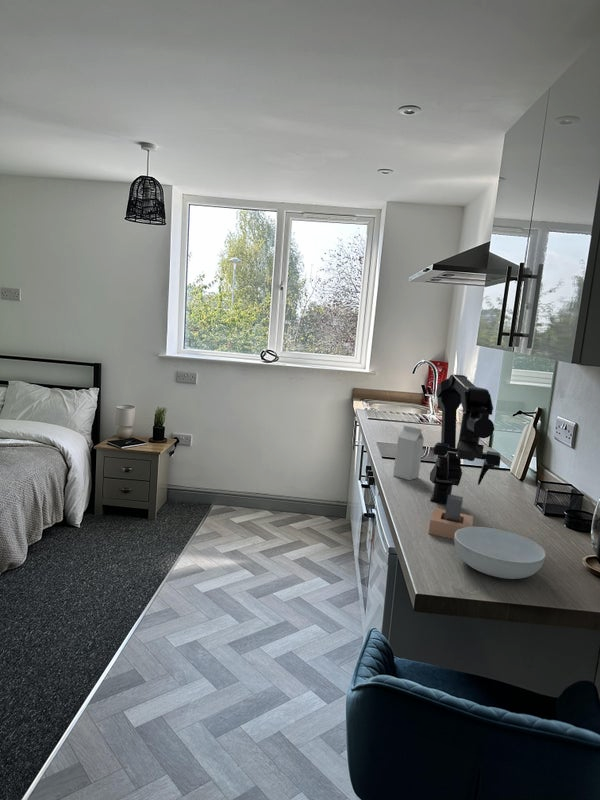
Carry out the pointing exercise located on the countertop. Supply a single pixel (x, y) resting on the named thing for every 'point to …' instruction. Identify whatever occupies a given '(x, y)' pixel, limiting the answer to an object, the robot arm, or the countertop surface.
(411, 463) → the milk carton
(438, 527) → the orange square socket block
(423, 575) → the countertop surface
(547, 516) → the countertop surface
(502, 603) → the countertop surface
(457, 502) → the tall grey square pillar
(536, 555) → the serving bowl
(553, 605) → the countertop surface
